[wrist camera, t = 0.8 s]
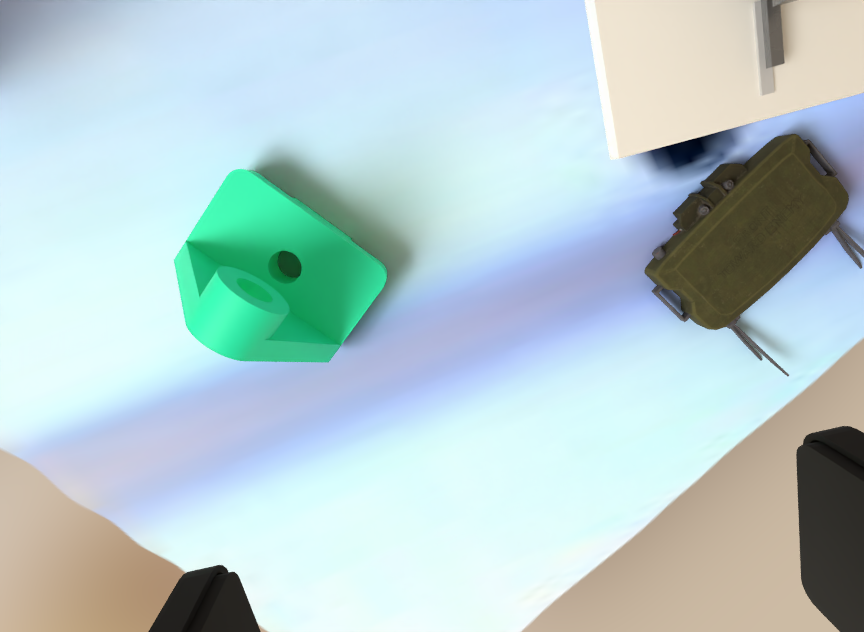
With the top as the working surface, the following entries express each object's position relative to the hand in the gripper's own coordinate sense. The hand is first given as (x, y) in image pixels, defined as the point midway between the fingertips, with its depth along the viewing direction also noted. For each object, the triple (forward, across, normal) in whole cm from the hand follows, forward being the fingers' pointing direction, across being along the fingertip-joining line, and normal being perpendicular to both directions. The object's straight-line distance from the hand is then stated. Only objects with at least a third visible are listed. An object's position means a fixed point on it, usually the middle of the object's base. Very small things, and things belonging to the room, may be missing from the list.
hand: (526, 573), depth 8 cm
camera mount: (+29, +10, -3) cm, 31 cm away
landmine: (+29, -23, +4) cm, 37 cm away
